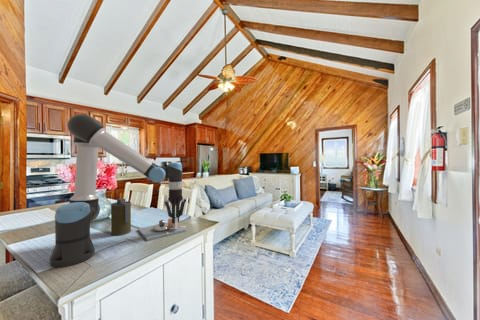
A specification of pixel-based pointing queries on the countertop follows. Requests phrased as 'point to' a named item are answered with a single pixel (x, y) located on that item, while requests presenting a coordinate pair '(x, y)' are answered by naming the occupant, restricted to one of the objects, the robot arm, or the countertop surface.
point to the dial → (163, 225)
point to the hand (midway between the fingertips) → (175, 228)
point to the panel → (151, 235)
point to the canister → (120, 217)
